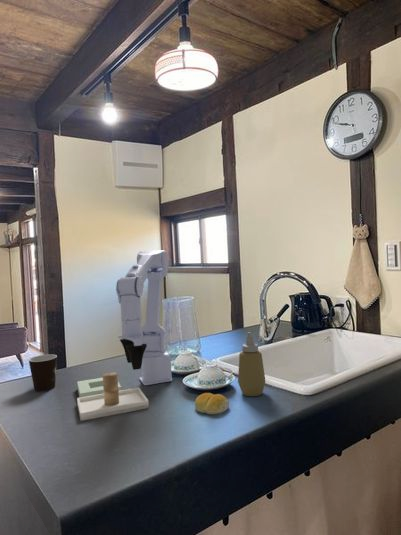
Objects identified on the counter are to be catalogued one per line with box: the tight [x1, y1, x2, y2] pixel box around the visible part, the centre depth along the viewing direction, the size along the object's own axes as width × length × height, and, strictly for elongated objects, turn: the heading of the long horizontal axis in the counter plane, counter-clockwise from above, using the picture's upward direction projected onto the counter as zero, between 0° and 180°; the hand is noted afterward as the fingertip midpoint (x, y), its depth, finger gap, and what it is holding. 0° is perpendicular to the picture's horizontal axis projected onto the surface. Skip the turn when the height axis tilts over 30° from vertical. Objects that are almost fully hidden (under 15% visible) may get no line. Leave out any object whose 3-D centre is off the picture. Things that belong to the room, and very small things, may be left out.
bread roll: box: [194, 392, 230, 415], centre depth 104 cm, size 8×9×4 cm
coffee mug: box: [28, 354, 58, 393], centre depth 129 cm, size 12×9×10 cm
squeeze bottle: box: [237, 331, 266, 397], centre depth 114 cm, size 8×8×18 cm
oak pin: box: [102, 372, 119, 406], centre depth 109 cm, size 4×4×8 cm
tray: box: [76, 387, 150, 422], centre depth 109 cm, size 18×12×2 cm, turn 111°
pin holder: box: [76, 377, 122, 398], centre depth 121 cm, size 12×12×2 cm
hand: (134, 365), depth 112 cm, fingers open, 7 cm apart
